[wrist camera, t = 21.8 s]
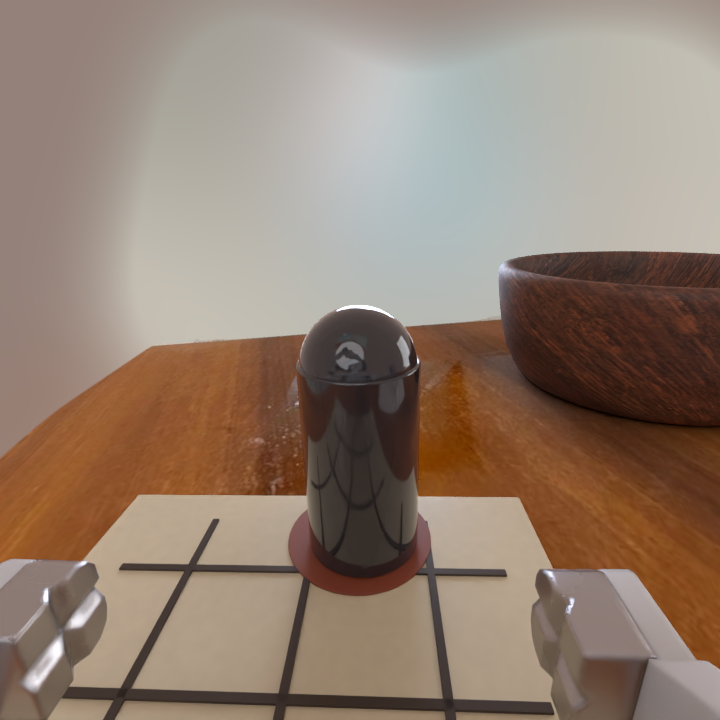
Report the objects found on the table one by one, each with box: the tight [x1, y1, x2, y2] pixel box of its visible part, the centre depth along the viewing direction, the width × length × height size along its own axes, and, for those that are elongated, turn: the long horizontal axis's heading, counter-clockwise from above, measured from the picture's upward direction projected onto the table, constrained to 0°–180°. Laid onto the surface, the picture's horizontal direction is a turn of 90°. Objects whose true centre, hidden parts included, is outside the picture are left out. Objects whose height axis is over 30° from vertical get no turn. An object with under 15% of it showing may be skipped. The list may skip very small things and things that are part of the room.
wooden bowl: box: [499, 251, 720, 426], centre depth 38 cm, size 25×25×10 cm
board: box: [47, 495, 559, 720], centre depth 13 cm, size 20×20×1 cm
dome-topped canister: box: [296, 305, 421, 578], centre depth 18 cm, size 5×5×10 cm
